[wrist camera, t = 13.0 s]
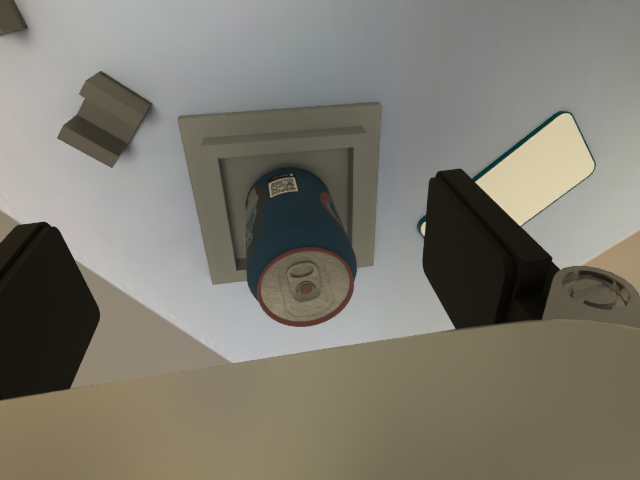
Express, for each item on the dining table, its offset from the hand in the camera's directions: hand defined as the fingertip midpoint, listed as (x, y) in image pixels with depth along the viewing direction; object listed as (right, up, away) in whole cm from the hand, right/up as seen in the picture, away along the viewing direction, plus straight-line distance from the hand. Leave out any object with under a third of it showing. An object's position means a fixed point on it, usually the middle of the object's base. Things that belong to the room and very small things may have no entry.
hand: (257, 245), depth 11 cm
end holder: (-1, +4, +24) cm, 25 cm away
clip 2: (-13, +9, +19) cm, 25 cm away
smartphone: (+19, +4, +28) cm, 34 cm away
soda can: (-1, +3, +24) cm, 24 cm away
